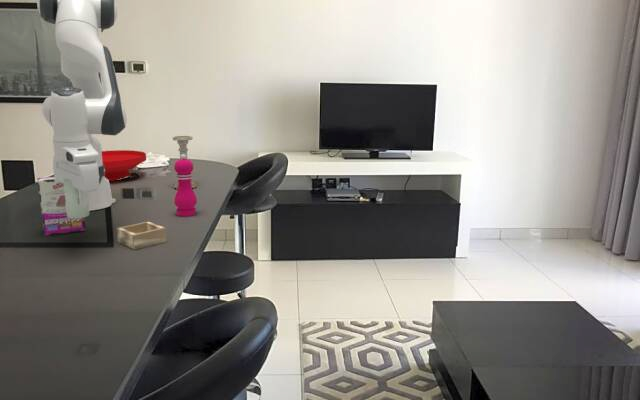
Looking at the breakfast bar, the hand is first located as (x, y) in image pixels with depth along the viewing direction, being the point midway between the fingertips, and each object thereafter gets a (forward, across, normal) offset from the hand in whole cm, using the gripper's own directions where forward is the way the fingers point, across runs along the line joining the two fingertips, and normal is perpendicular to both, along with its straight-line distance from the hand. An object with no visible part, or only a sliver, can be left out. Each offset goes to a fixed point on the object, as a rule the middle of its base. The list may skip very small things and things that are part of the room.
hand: (77, 202), depth 147 cm
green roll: (+4, 0, 0) cm, 4 cm away
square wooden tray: (+12, +8, +13) cm, 20 cm away
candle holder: (+13, -42, +60) cm, 74 cm away
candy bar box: (+13, -16, +2) cm, 21 cm away
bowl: (+14, -80, +47) cm, 94 cm away
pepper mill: (+12, -8, +38) cm, 41 cm away
